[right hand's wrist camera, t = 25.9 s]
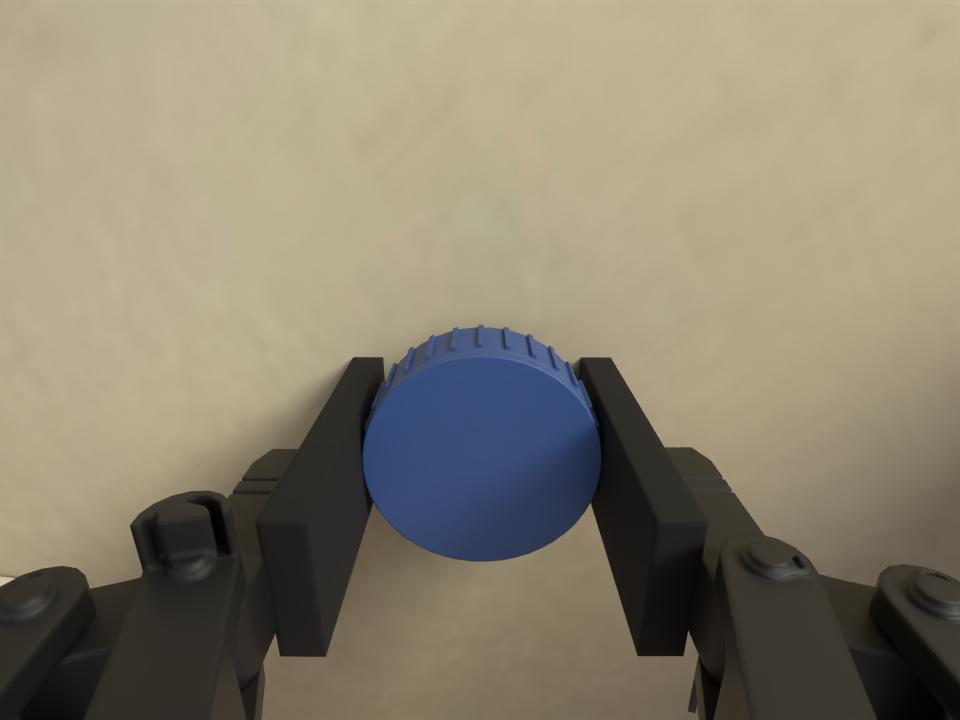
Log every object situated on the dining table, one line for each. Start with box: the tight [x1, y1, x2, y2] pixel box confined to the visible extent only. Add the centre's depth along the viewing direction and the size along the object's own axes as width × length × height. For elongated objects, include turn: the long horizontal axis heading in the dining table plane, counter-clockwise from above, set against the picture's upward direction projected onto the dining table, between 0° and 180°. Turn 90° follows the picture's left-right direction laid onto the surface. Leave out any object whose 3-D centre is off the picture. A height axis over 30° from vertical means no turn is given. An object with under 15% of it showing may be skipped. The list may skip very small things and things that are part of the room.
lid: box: [362, 325, 602, 561], centre depth 12 cm, size 5×5×2 cm
